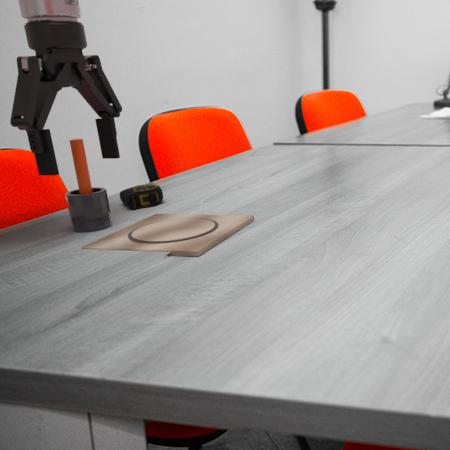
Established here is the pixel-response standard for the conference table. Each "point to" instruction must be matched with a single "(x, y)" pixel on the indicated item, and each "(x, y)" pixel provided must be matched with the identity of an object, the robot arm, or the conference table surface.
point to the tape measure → (142, 196)
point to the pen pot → (89, 210)
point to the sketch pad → (173, 234)
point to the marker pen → (81, 166)
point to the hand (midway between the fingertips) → (82, 166)
